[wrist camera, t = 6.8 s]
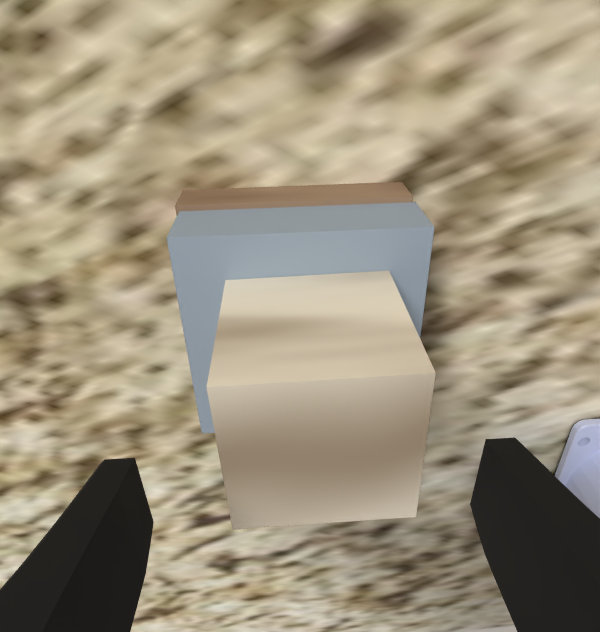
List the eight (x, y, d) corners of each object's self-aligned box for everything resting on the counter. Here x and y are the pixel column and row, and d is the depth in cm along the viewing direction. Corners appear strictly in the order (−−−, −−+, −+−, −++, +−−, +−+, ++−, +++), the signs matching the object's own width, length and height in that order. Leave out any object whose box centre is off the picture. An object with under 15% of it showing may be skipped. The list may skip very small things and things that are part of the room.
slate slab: (396, 384, 18) (409, 422, 16) (208, 393, 18) (201, 433, 16) (415, 202, 14) (434, 227, 13) (179, 211, 14) (166, 237, 13)
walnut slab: (383, 349, 20) (394, 381, 18) (211, 357, 20) (205, 390, 18) (398, 177, 16) (413, 196, 14) (185, 185, 16) (175, 205, 14)
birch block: (381, 395, 16) (416, 516, 12) (242, 403, 16) (232, 529, 12) (389, 270, 13) (435, 372, 10) (225, 280, 13) (206, 386, 9)
